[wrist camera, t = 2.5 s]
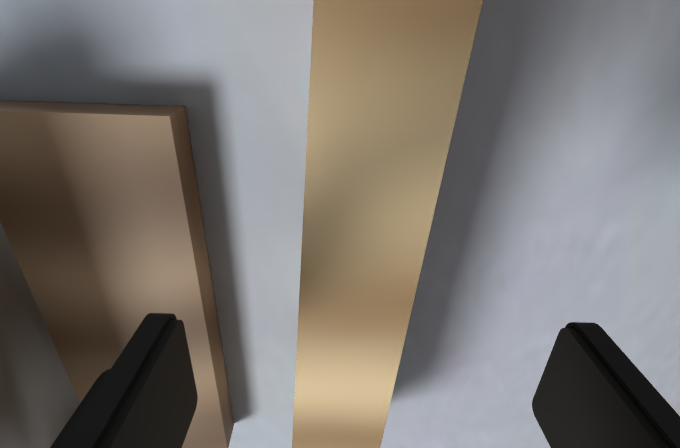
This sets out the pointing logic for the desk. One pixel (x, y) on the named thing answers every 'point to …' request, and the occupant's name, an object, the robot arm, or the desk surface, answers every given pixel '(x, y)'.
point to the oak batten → (370, 200)
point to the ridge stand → (98, 259)
